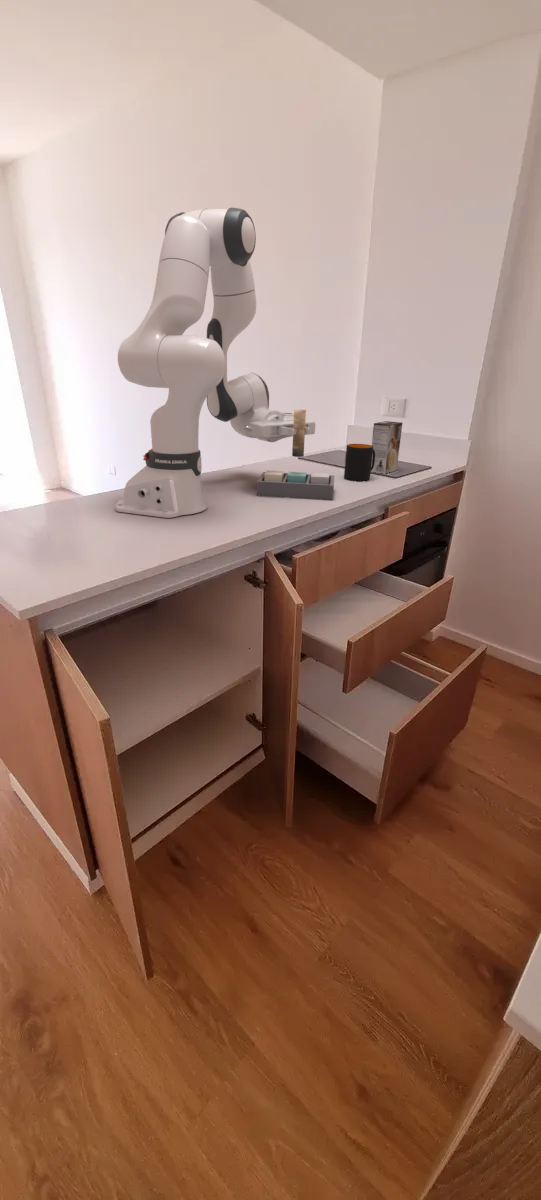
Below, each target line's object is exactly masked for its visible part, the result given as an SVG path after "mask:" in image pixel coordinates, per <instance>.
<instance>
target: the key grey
mask: <svg viewBox="0 0 541 1200" xmlns="http://www.w3.org/2000/svg"><path fill="white" fill-rule="evenodd" d="M310 474H311V483H310V484H327V485H329V475H330V473H325V472H324V473H323V472H311V473H310Z"/></svg>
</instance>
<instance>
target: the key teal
mask: <svg viewBox="0 0 541 1200" xmlns="http://www.w3.org/2000/svg"><path fill="white" fill-rule="evenodd" d="M287 473H288V478H287V482H290V483H306V475H307V472H305V471H304V472H303V471H289V472H287Z"/></svg>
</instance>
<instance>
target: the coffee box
mask: <svg viewBox="0 0 541 1200" xmlns="http://www.w3.org/2000/svg"><path fill="white" fill-rule="evenodd" d="M402 428H403V422H399V421H391V420H388V421H387V420H385V421H380V422H375V423H373V429H372V441H371V446H373V449H374V451H375V463H374V467H373V469H372V470H371V473H373V472H376V473H375V474H380V473H383V474H382V475H387V474H386V473H388V474H390V473H394V472H396V471H397V470H398V462H399V455H400V445H401V438H402ZM372 460H373V454H372ZM371 466H372V464H371ZM389 472H390V473H389Z"/></svg>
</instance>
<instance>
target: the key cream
mask: <svg viewBox="0 0 541 1200" xmlns="http://www.w3.org/2000/svg"><path fill="white" fill-rule="evenodd" d="M265 472H266V473H265V475H264V481H271V482H283V480H284V473H285V471H284V470H283V471H282V470H266V471H265Z"/></svg>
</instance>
